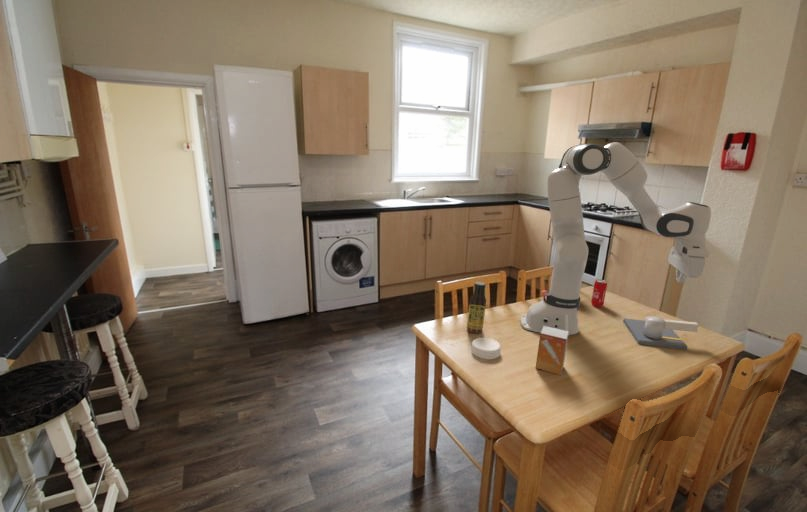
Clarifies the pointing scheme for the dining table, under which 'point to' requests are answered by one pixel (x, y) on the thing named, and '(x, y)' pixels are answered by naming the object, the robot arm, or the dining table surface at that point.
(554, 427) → the dining table surface
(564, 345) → the small box
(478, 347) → the white bowl
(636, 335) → the plate
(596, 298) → the beverage can
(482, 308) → the sauce bottle
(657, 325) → the white measuring scoop
